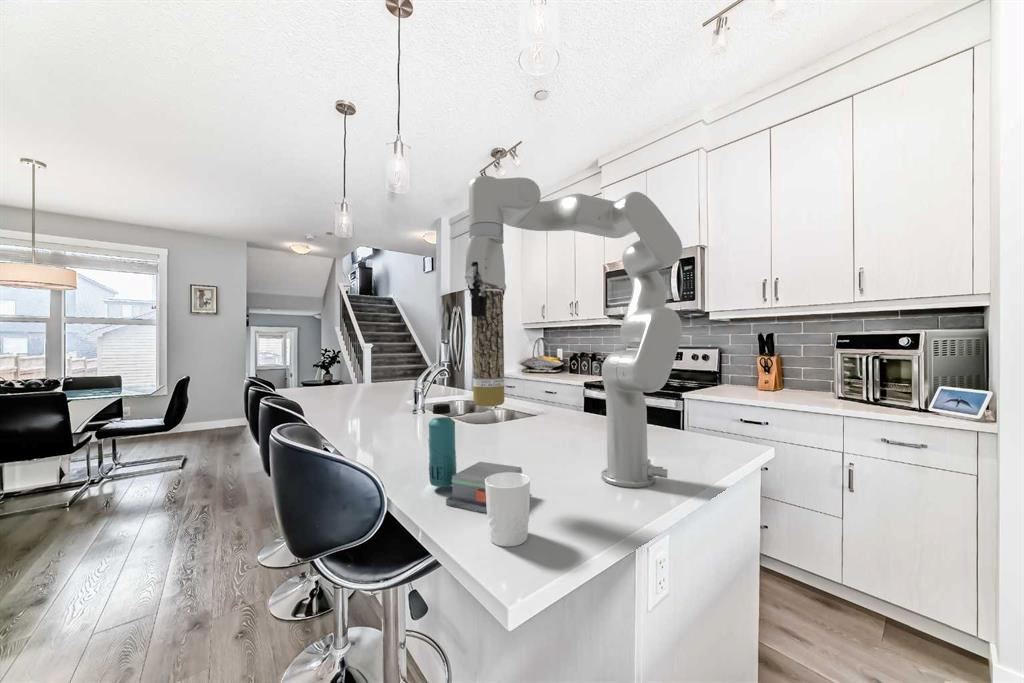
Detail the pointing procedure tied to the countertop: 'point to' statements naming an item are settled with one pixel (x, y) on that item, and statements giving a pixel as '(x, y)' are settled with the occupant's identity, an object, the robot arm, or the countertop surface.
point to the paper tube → (489, 351)
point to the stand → (475, 485)
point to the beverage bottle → (442, 447)
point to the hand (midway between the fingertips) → (487, 316)
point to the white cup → (507, 508)
